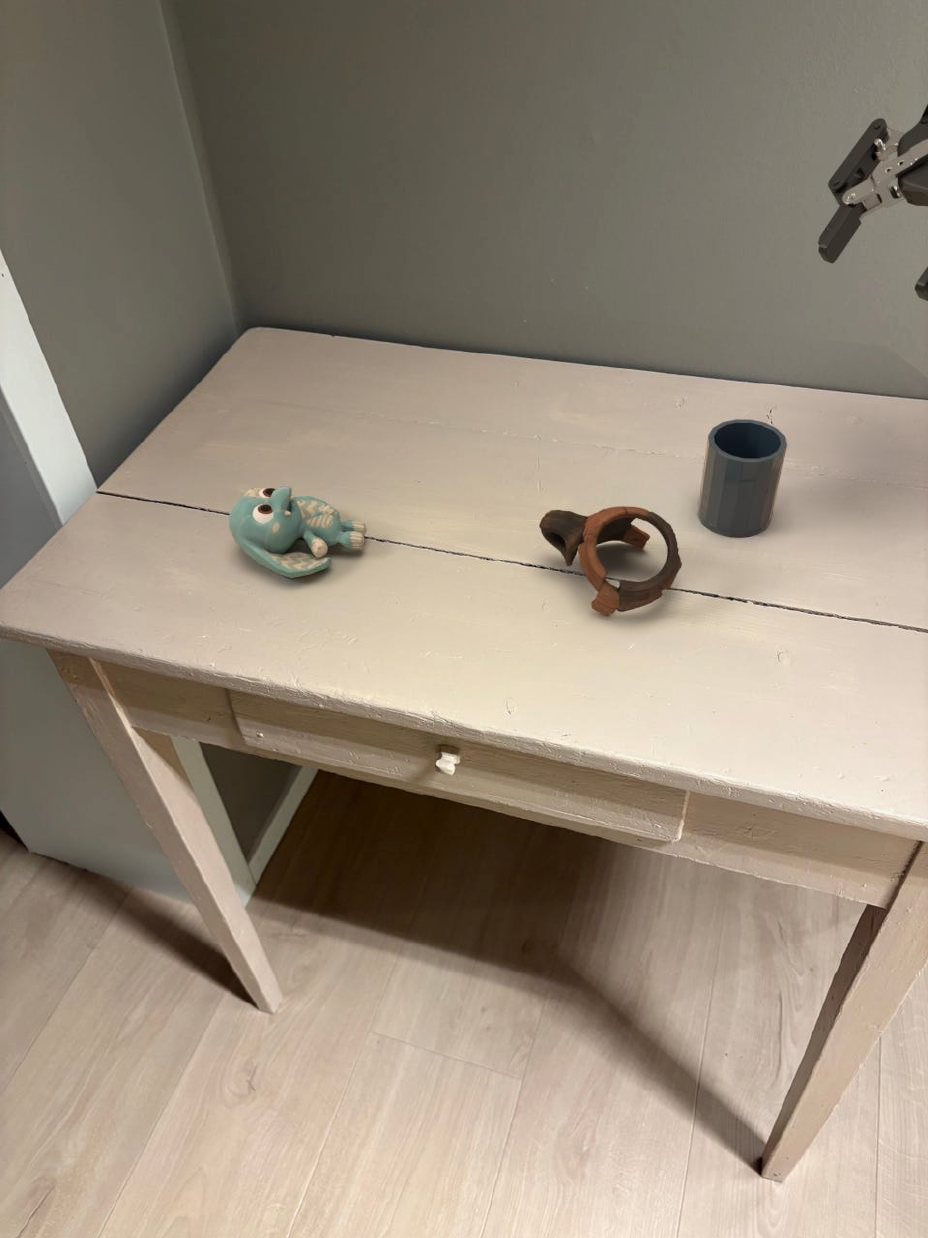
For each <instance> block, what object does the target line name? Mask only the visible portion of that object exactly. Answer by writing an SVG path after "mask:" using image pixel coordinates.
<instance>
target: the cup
mask: <svg viewBox="0 0 928 1238" xmlns="http://www.w3.org/2000/svg"><path fill="white" fill-rule="evenodd" d="M787 448H788V443H787V439H786V436H785V435H784V433H782V431H780V429H778V428H777V427H775V426H773V425H771V424H769V423H767V422H764V421H760V420H755V419H745V418H744V419H739V418H738V419H731V420H726V421H722V422H721V423H719V424H717V425H715V426H714V427H713V428H712V429H711V430H710V432H709V433H708V435H707V441H706V447H705V455H704V462H703V468H702V474H701V482H700V488H699V494H698V501H697V517H698V519H699V521H700V523H701V524H702V525H703V526H704V527H706V529H708V530H710V531H711V532H714V533H716V534H718V535H721V536H726V537H730V538H731V537H732V538H747V537H752V536H755V535H757V534H760V533H762V532H763V531H765V530H766V529H767V528H768V526H769V525H770V523H771V519H772V516H773V513H774V509H775V503H776V500H777V499H776V498H777V494H778V489H779V485H780V480H781V476H782V470H783V467H784V462H785V457H786V452H787Z"/></svg>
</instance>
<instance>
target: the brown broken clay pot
mask: <svg viewBox="0 0 928 1238" xmlns="http://www.w3.org/2000/svg"><path fill="white" fill-rule="evenodd" d="M637 519H638V520H641V521H642V522H646V523H648V524H650V525H651V526H653V527H654V528H655V529H656V530H657V532H659V534H661V536H662V537H663V539H664V542H665V545H666V551H667V552H666V560H665V562H664V565H663V567H662V568H661V570H660V571H659V572H658V573H656V574H655V575H653V576H652V577H650V578H648V579H645V580H642V581H627V580H626V581H624V580H621V579H620V580H619V581H618V584H619V585H618V587H617V586H615V585H613V584H611V583H610V582H609V581H608V580H607V579H606V578H607V576H608V571H607V570H606V569H605V567H604V566H603V564H602V563H601V561H600V559H599V555H598V550H597V546H598V545H601V544H604V543H608V542H622V543H625V544H627V545H630V546H633V547H635V548H637V549H638V550H639V551H641V550H644V548H645V546H646V545H647V542H649V541H650V538H651V535H650V534H648V533H647V532H646V531H644V530H642V529H640V528H639V527H638V526H636V525H634V524H632V523H633V522H634V521H635V520H637ZM538 526H539V529H540V532H541V534H542V537H543V538H544V539H545V540H546V541H547V542H548V543H549V544H550V545H551V546H552V547H553V548H555V549H556V550H557V551H558V552H559V553H560V554H561V555H562V557H563V560H564V562H565V564H566V566H567V567H570V566H571V567H572V566H573V563H574V560H575V559H576V557H577V554H578V558H579V562H580V566H581V568H582V570H583V572H584V574H585V576H586V579H587V580H588V582H589V584H590V585H591V586H592V588H593V589H594V590H595V591H596V592H597V594H596V596H595V598H594V600H593V599H592V601H591V602H590V604H591V609H592V610H594V611H596V612H598V613H600V614H602V615H604V616H610V615H614V614H615V612H616V611H617V612H619V613H624V612H628V611H633V610H636V609H639V608H642V607H645V606H647V605H650V604H651V603H652V604H653V602H655V601H657V600H659V599H661V598H662V597H663V595H664V592H663V591H668V590H669V589H670V588H671V587H672V585H673V584H674V581H675V579H676V578H677V575H678V573H679V571H680V570H681V568H682V567H683V562H682V558H681V556H680V554H679V549H680V548H679V546H678V541H677V538H676V537H677V536H676V534H675V531H674V529H673V528H672V525H671V524H670V523H669V522H667V521H666V520H665V519H664V518H663V517H661V516H660V515H659V514H657V513H656V512H653V511H650V510H648V509H646V508H642V507H639V506H628V505H627V506H626V505H624V506H623V505H619V506H611V507H607V508H603V509H601V510H599V511H598V512H595V513H592V514H590V515H588V516H587V515H582V514H580V513H576V512H573V511H571V510H563V509H551V510H549V511H548V512H546V513H545V514H544V516H542V518H541V520H540V522H539V525H538Z"/></svg>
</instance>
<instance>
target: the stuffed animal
mask: <svg viewBox="0 0 928 1238" xmlns="http://www.w3.org/2000/svg"><path fill="white" fill-rule="evenodd" d="M292 491H293V489H292V487H291V486H285V485H284V486H279V487H273V486H272V487H260V488H258V487H251V488H250V489H248V490H247V491H246V493H245V494H243V496H241V497H240V499H239V500H238V501H237V502H236V503H235V504H234V506H233V507H232V508H231V510H230V512H229V515H228V528H229V531H230V534H231V537H232V538H233V541H234V542H235V544H236V546H238V548H240V549H241V550H242V551H243V552H244V554H245V553H246V555H247V556H248V557H250V558H251V559H252V560H254V561H255V562H256V563H257V564H259V565H261V566H264V567H265V568H267V569H269V570H270V571H272V572H274V573H275V574H277V575H279V576H284V577H287V578H290V579H294V578H300V577H305V576H311V575H313V574H316V573H317V572H320V571H322V570H325V569H327V568H328V567H330V566H331V564H332V559H331V558H330V557H329V556H326V555H327V553H328V550H329V547H333V546H336V544H340V545H342V546H344V547H346V548H347V549H351V550H361V549H362V548H363V547H364V545H365V535H366V533H367V524H366V523H365V521H362V520H359V519H350V520H349V519H348V520H346V521H341V515H340V512H339V510H337V509H336V508H334V506H332V505H331V504H329V503H328V502H327V501H325V500H324V499H323V500H322V499H320V498H316V497H314V496H310V495H304V496H303V495H301V496H296V495H294V494H293V492H292ZM301 538H303V540H304V541H305V543H307V546H308V547H309V549H310V551H311V553H306V552H301V551H294V552H288V550H289V549H290V548H291V547H292V546H293V545H294V543H295V542H296V541H297V540H298V539H301ZM286 552H287V553H286Z"/></svg>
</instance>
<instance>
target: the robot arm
mask: <svg viewBox="0 0 928 1238" xmlns="http://www.w3.org/2000/svg"><path fill="white" fill-rule="evenodd" d="M895 152H896V153H897V154H896V156H897V157H896V158H894V159H892V160H890V161H889V162H887V161H888V160H889V157H890V156H891V155H892V154H893V153H895ZM881 162H887V163H885V164H884V165H882V166H880V167H878V166H879V164H880V163H881ZM894 180H896V181H897V183H896V184H895V185H892V186H891V185H890V183H891V182H892V181H894ZM827 187H828V189H829V190H830V192H831V194H832V196H833V197H834V199H835V201H836V202H837V204H838V208H837V210H836V211H835V213H834V214H833V216H832V217H831V219H830V220H829V221H828V224H827V225H826V226H825V227H824V230H823V231H822V232H821V234H820V235H819V238H818V241H817V244H818V249H817V250H818V251H817V252H818V254H819V255H820V257H821V259H822V260H823V261H824V262H826V263H828V264H829V263H830V264H835V262H837V261H838V259H839V257H840V256H841V254H842V253H843V251H845V248H846V247H847V245H848V244H849V242H850V241H851V239H852V238H853V236H854V235H855V234H856V233H857V230H858V229H859V227H861V225H862V221H861V219H864V218H865V217H867V216H869V215H870V214H872V213H874V212H876V211H879V210H880V209H882V208H892V207H893V206H895V205H897V204H898V203H900V202H902V201H904V200H905V201H906V203H907V204H910V205H911V206H912V205H913V206H915V207H916V206H917V207H928V103H927V104H926V106H925V109H924V110H923V113H922V115H921V117H920V119H919V121H918V122H917V123H916V124H915V125H914V126H913V127H912V128H910V129H909V130H907V131H906V132H905V133H904V132H901V131H899V130H896V129H893V128H890V127H889V125H888V124H887V122H886V120H885V119H884V118H881V117H879V118H875V119H874V120H873V121H872V122H870V124H869V126H868V127H867V128H866V129H865V131H864V133H863V134H862V135H861V137H860V138H859V139H858V141H857V142H856V143H855V145H854V146H853V148H852V149H851V150H850V152H848V154H847V155H846V157H845V158H844V160H843V161H842V162H841V164H840V165H839V167H838V168H837V169H836V170H835V172H834V173H833V175H832V176H831V178H830V179H829V180H828V183H827ZM914 291H915V292H916V295H917V297H918V298H919V299H921V300H923V301H925V302H928V266H927V267H926V268H925V270H924V271H923V272H922V273H921V275H920V276H919V278H918V279H917V281H916V283H915V285H914Z"/></svg>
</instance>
